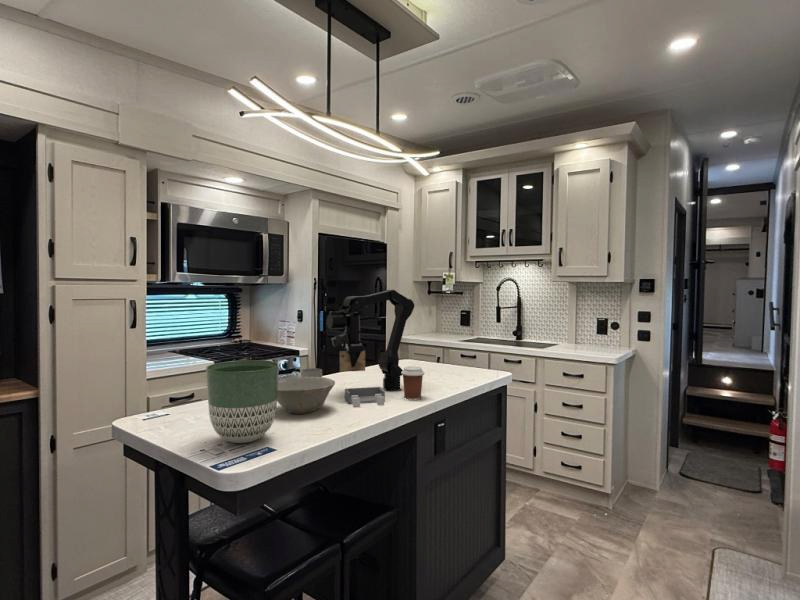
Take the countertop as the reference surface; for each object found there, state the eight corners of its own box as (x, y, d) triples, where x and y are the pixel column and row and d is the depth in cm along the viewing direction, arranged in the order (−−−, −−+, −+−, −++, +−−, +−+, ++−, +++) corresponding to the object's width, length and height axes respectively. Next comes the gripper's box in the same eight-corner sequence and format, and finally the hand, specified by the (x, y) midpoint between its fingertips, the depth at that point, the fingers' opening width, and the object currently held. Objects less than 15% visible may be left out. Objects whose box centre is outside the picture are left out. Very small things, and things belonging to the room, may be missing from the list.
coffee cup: (398, 396, 187) (398, 366, 187) (419, 394, 190) (419, 365, 190) (405, 401, 178) (405, 370, 178) (427, 400, 181) (427, 369, 181)
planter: (191, 443, 130) (191, 367, 130) (247, 426, 147) (247, 358, 146) (238, 457, 120) (238, 374, 119) (293, 436, 137) (293, 363, 136)
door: (364, 369, 191) (364, 350, 191) (365, 371, 188) (365, 351, 188) (339, 370, 188) (339, 351, 188) (340, 372, 186) (340, 352, 186)
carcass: (380, 396, 186) (380, 386, 186) (387, 404, 174) (387, 394, 174) (344, 398, 182) (344, 388, 182) (349, 407, 170) (350, 396, 170)
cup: (319, 397, 184) (319, 372, 184) (298, 397, 185) (298, 372, 184) (323, 392, 193) (323, 368, 193) (303, 392, 193) (303, 368, 193)
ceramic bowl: (255, 416, 158) (255, 386, 158) (293, 400, 180) (293, 374, 180) (312, 423, 151) (312, 392, 150) (345, 405, 172) (345, 378, 172)
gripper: (329, 326, 195) (329, 363, 195) (335, 330, 177) (335, 371, 177) (356, 325, 198) (356, 362, 198) (364, 329, 180) (364, 370, 180)
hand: (352, 366), depth 189 cm, fingers closed on door, 2 cm apart
